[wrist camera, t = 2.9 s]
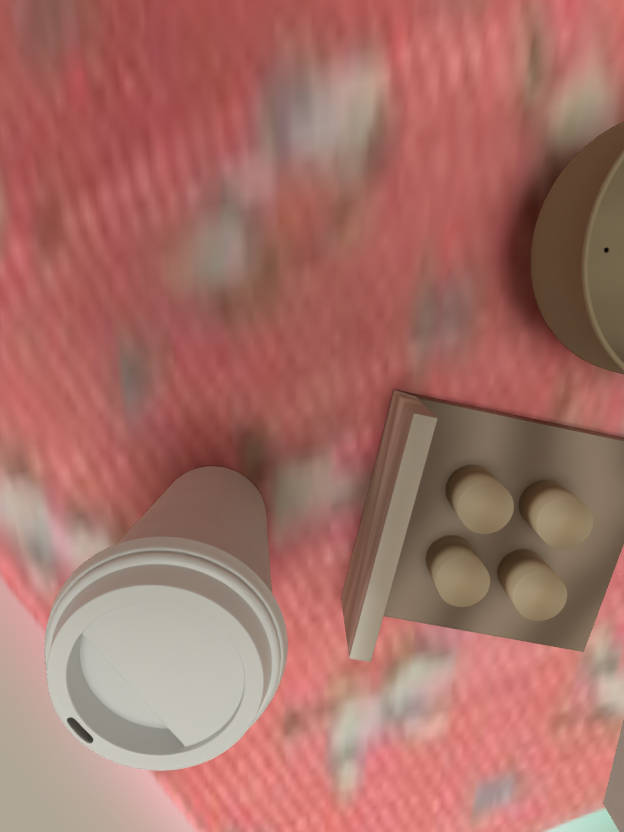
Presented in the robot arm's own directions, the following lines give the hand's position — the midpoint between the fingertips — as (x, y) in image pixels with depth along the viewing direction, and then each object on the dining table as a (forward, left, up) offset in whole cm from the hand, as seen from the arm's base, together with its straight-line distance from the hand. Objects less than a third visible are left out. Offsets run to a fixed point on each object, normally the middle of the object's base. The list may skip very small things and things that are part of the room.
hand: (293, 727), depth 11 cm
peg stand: (+13, -4, -24) cm, 28 cm away
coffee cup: (-4, -7, -24) cm, 25 cm away
